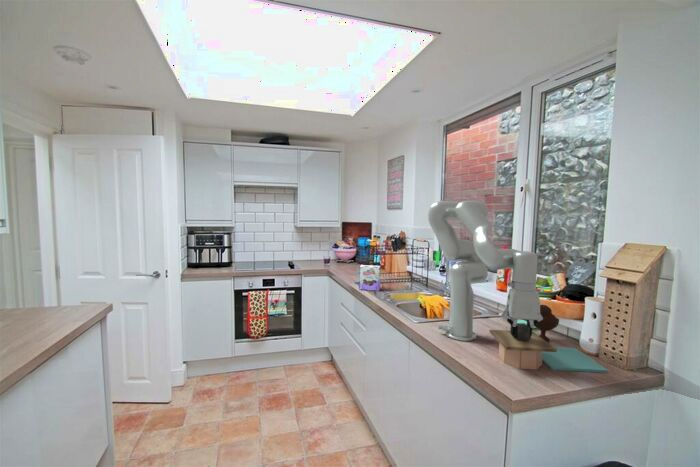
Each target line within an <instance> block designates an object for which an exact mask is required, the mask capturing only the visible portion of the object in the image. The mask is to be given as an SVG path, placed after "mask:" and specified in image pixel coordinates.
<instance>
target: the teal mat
mask: <svg viewBox="0 0 700 467" xmlns="http://www.w3.org/2000/svg"><path fill="white" fill-rule="evenodd" d="M553 347H554V348H556V349H557V352H543V353H542V363H543V364H545V365H546V366H547V367H548V368H549V369H550V370H552V371H568V372H570V371H571V372H586V373H587V372H588V373H606V374H607V373H609V369H607V368H605V367H604V366H602V365H601V364H599V363H598V362H597V361H595V360H593V359H592V358H590V357H589V356H587V355H586V354H585V353H583V352H581V351H579V349H577V348H574V347H558V346H553Z"/></svg>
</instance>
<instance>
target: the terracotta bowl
mask: <svg viewBox="0 0 700 467" xmlns="http://www.w3.org/2000/svg"><path fill="white" fill-rule="evenodd" d="M542 353H543V351H523V350H506V349H505V348H504V346H503V345H502V344H501V343H500V342H499V341H498V358H499V359H500V360H501V361H502V363H503V364H505V365H508V366H512V367H514V368H517V369H520V370H538V369H539V368H540V367H541V366H542V365H543V362H542Z"/></svg>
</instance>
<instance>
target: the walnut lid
mask: <svg viewBox="0 0 700 467" xmlns="http://www.w3.org/2000/svg"><path fill="white" fill-rule="evenodd" d="M516 327H517V338H514V337H513V336H512V335H511V333H510V331H511V330H504V329H489V333H490V335H491V336H493V338H495V340H497V341H498V343H499V342H500V343H501V344H502V345H503V346H504V348H505V349H506V350H523V351H543V352H557V349H556V348H554V347H555V346H554V345H552V344H550V343H549V342H546V341H545V340H544V339H542V338H541V337H540V336H539V335H538V334H537V333H535V332H534V331H532V336H531V339H529V337H530V327H529V326H528V325H527V323H525V322H523V323H522V322H517V324H516Z"/></svg>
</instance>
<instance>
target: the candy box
mask: <svg viewBox="0 0 700 467" xmlns="http://www.w3.org/2000/svg"><path fill="white" fill-rule="evenodd" d="M358 277H359V278H358V280H359V282H358V290H359V291H370V290H375V291H374V292H380V289H381V287H380V286H381V265H369V264H368V265H367V264H366V265H365V264H360V266H359V276H358ZM361 289H362V290H361Z"/></svg>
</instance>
